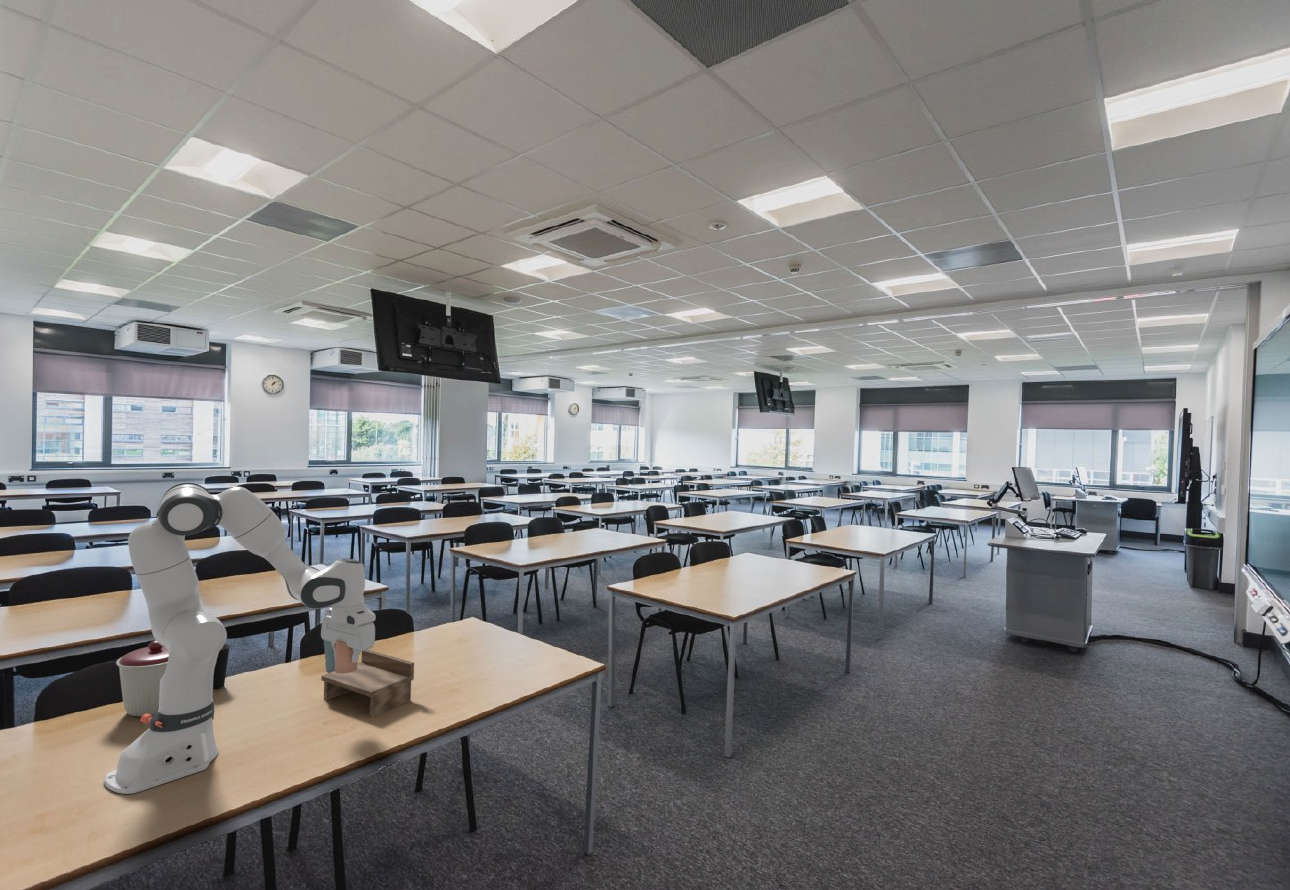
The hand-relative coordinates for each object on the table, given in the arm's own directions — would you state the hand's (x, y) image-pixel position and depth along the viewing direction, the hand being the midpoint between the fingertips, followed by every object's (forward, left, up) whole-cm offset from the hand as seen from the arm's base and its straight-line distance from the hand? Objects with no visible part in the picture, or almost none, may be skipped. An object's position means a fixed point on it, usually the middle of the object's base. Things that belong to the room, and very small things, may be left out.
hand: (346, 659), depth 177 cm
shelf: (+14, +8, -19) cm, 25 cm away
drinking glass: (+26, +40, -19) cm, 51 cm away
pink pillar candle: (0, 0, -3) cm, 3 cm away
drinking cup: (-6, +58, -19) cm, 61 cm away
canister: (-24, +56, -19) cm, 64 cm away
